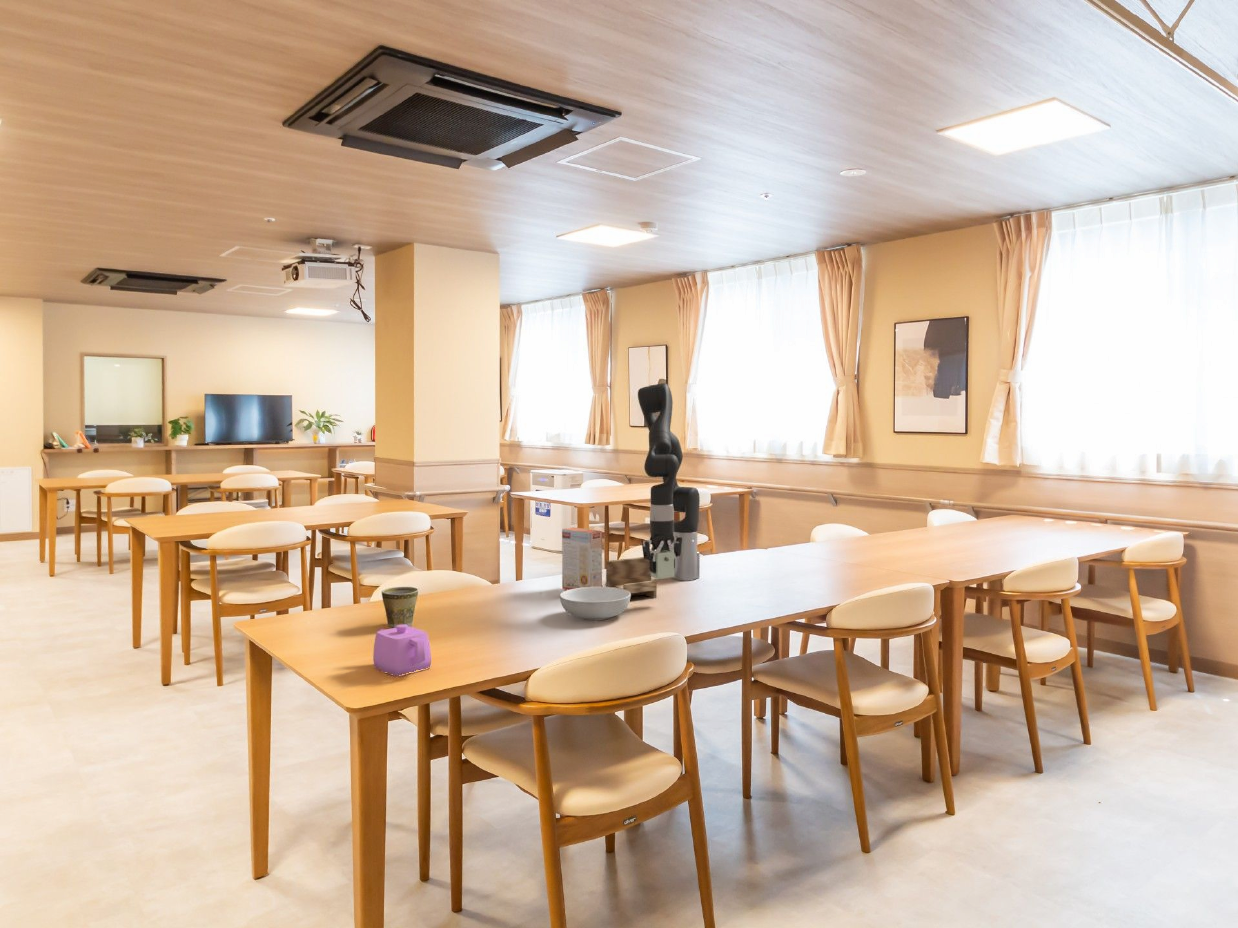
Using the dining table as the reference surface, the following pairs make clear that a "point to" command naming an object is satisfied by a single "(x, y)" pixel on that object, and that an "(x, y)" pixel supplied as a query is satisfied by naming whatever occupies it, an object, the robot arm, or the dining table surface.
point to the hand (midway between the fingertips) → (662, 571)
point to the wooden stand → (631, 576)
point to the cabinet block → (664, 565)
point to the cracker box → (581, 558)
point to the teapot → (401, 650)
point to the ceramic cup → (400, 605)
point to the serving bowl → (595, 602)
